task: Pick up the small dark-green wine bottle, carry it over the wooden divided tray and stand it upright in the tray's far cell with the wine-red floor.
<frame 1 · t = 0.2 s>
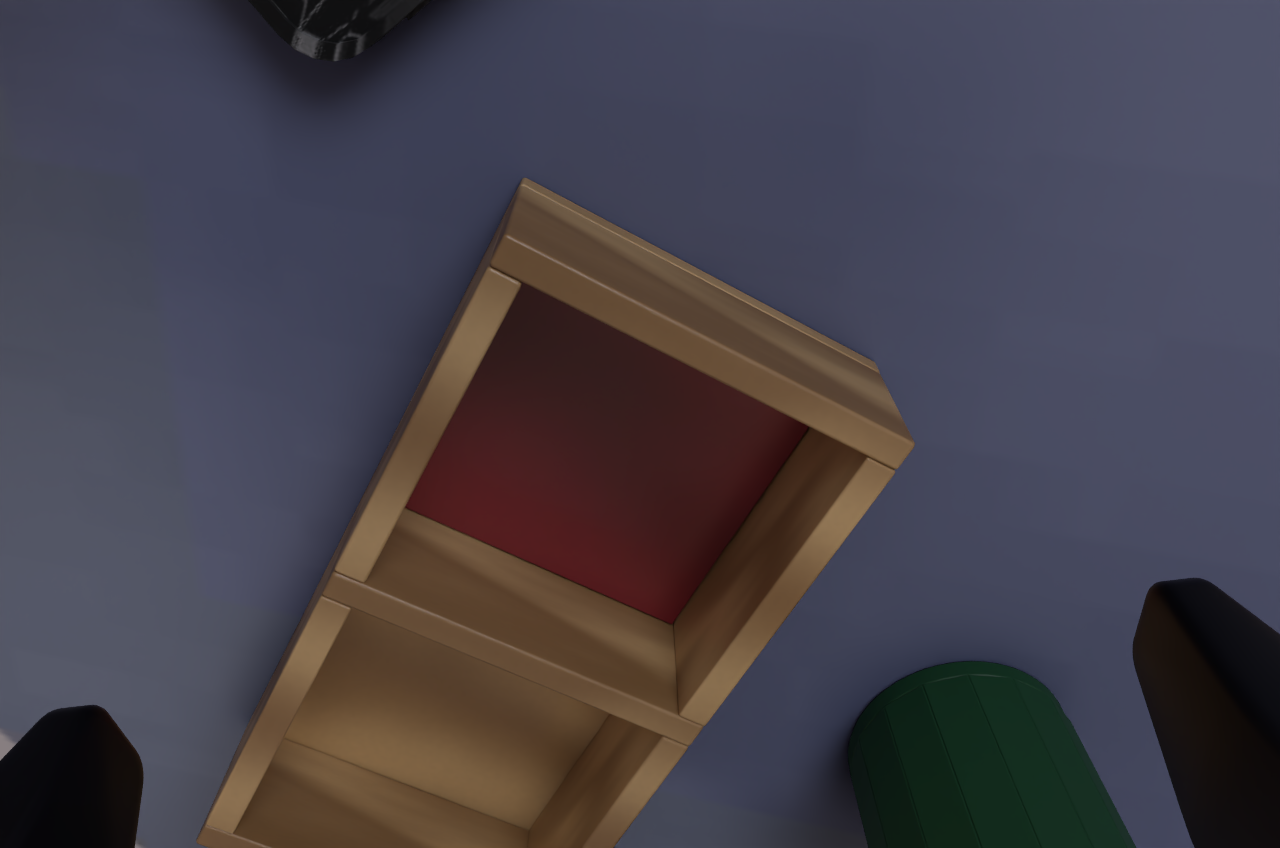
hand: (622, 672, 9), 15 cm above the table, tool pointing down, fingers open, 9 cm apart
wooden divided tray: (533, 559, 27), on the table
wine bottle: (955, 745, 30), on the table
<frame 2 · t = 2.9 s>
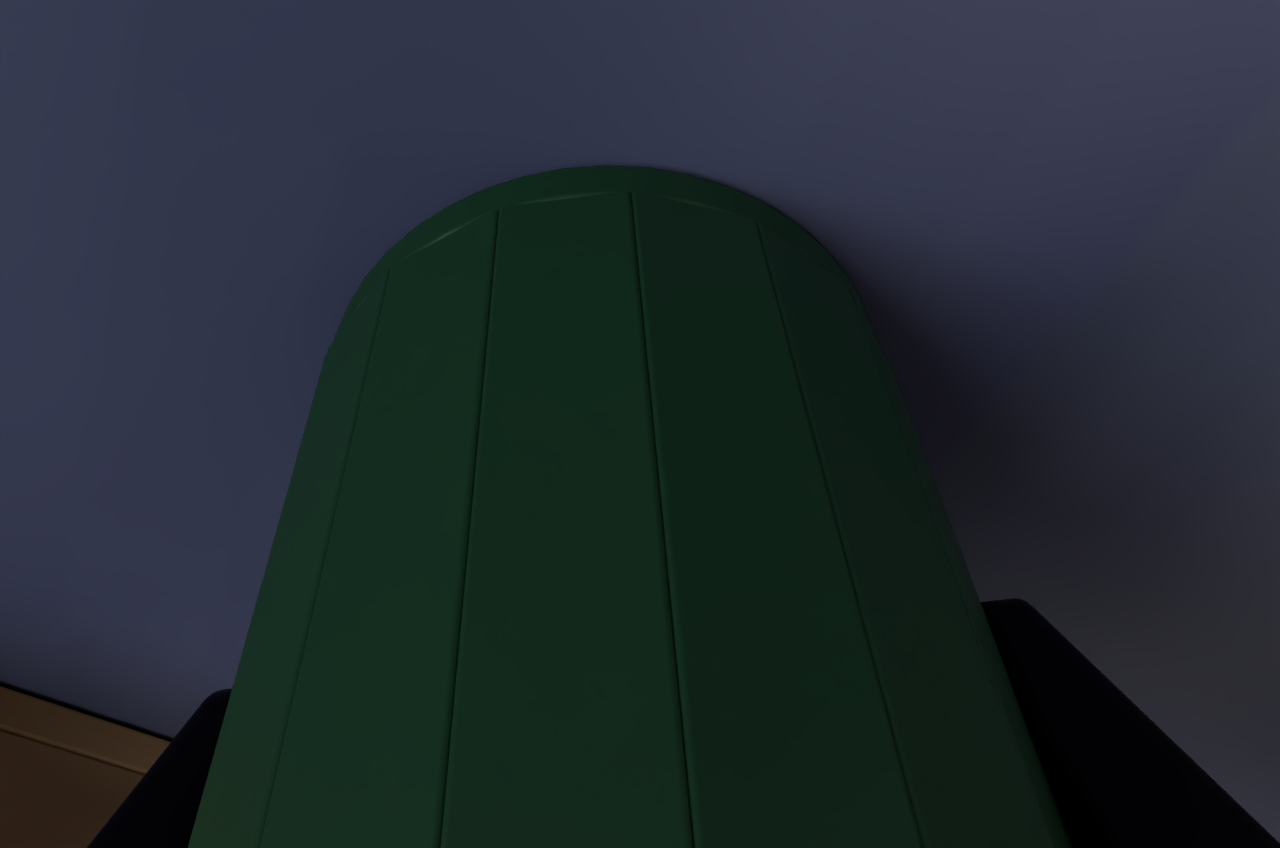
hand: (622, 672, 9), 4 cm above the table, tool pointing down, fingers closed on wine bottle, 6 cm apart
wine bottle: (607, 410, 12), on the table, touching gripper
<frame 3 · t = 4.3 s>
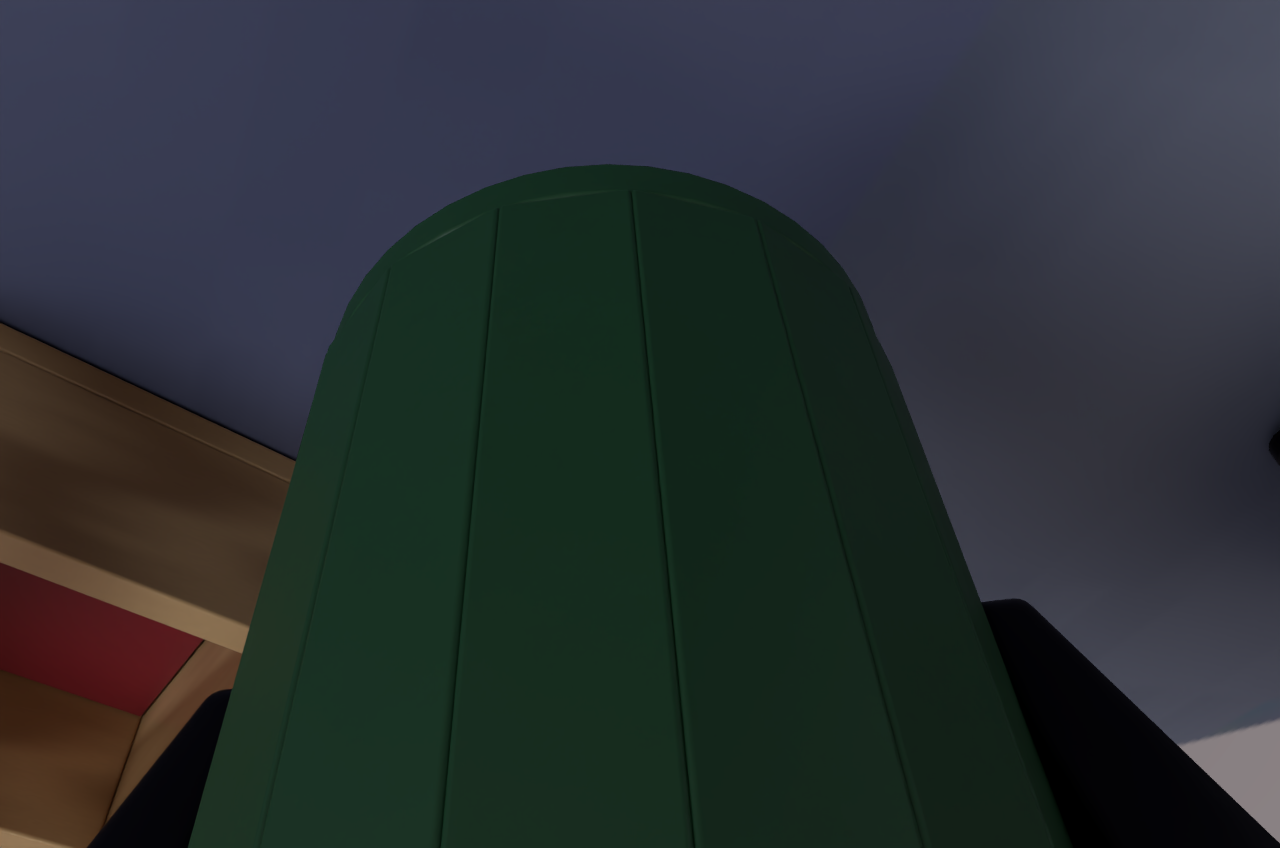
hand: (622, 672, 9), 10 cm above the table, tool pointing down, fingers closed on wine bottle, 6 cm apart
wooden divided tray: (239, 606, 23), on the table
wine bottle: (607, 409, 12), point 6 cm above the table, touching gripper
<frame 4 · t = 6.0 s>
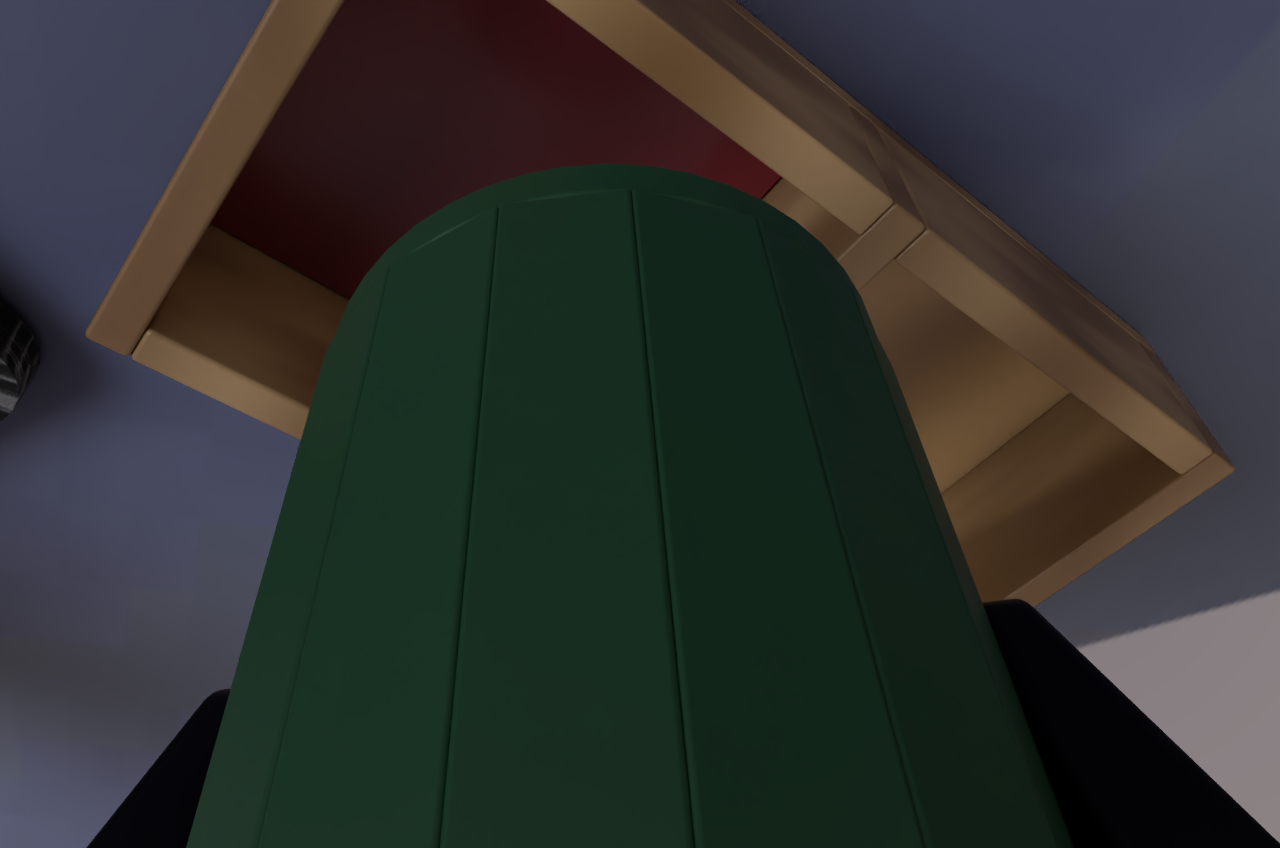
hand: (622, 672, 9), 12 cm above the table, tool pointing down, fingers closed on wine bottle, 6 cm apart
wooden divided tray: (689, 276, 21), on the table
wine bottle: (607, 409, 12), point 8 cm above the table, touching gripper
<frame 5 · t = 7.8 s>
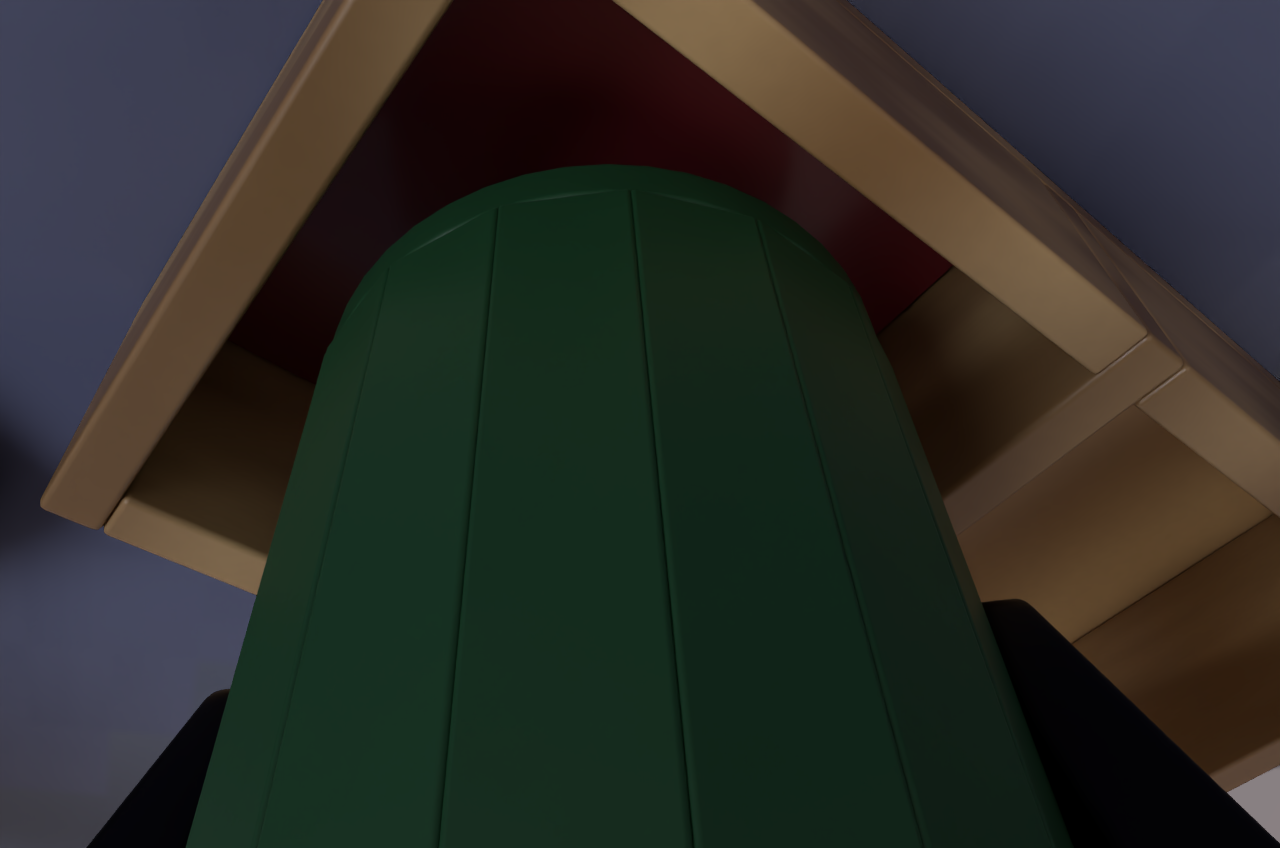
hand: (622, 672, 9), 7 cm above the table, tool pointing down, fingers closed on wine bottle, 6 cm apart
wooden divided tray: (808, 385, 17), on the table
wine bottle: (607, 409, 12), point 4 cm above the table, touching gripper
when the fingers open (4 cm above the table, at t = 9.3 s): wine bottle stays where it is, resting on wooden divided tray.
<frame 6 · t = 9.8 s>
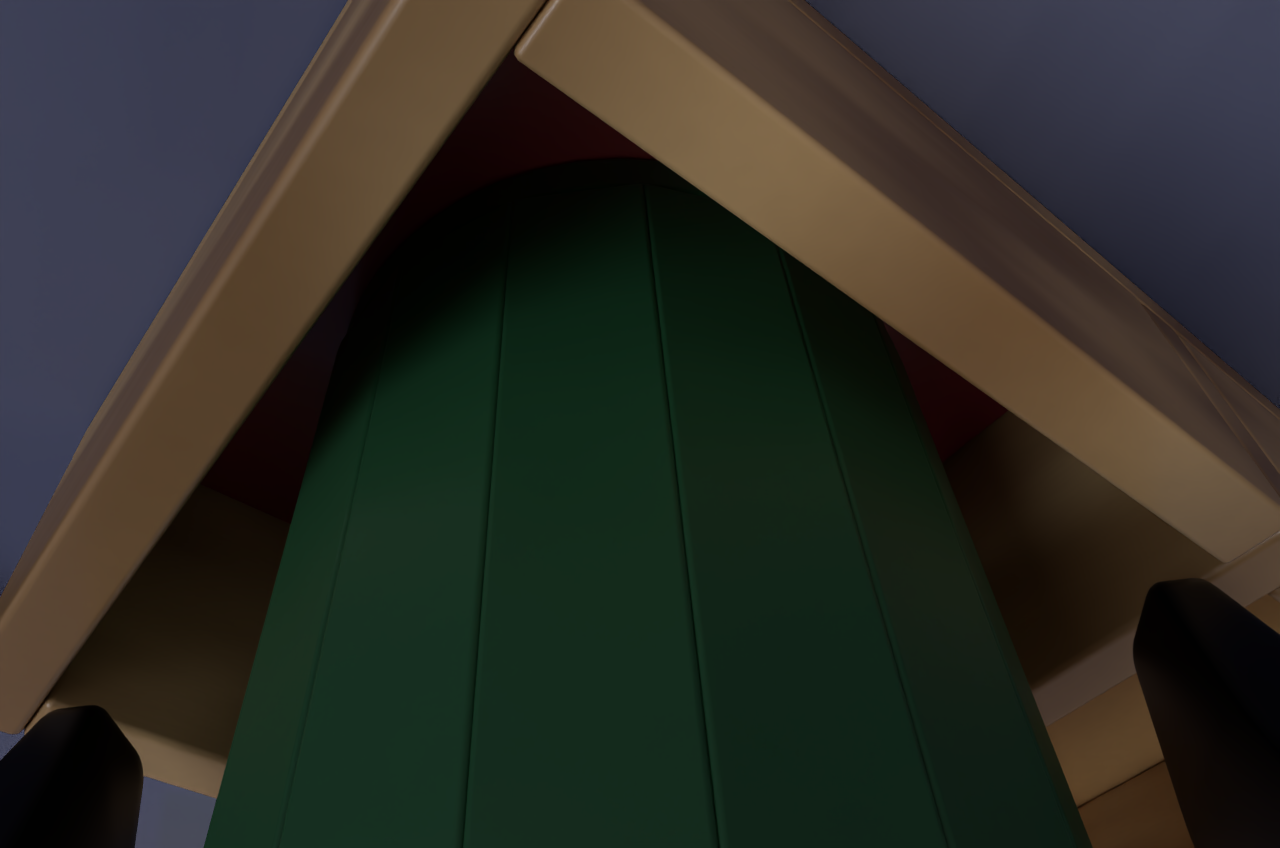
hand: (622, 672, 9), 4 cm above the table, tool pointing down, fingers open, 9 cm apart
wooden divided tray: (853, 509, 14), on the table
wine bottle: (617, 404, 12), point 1 cm above the table, touching wooden divided tray
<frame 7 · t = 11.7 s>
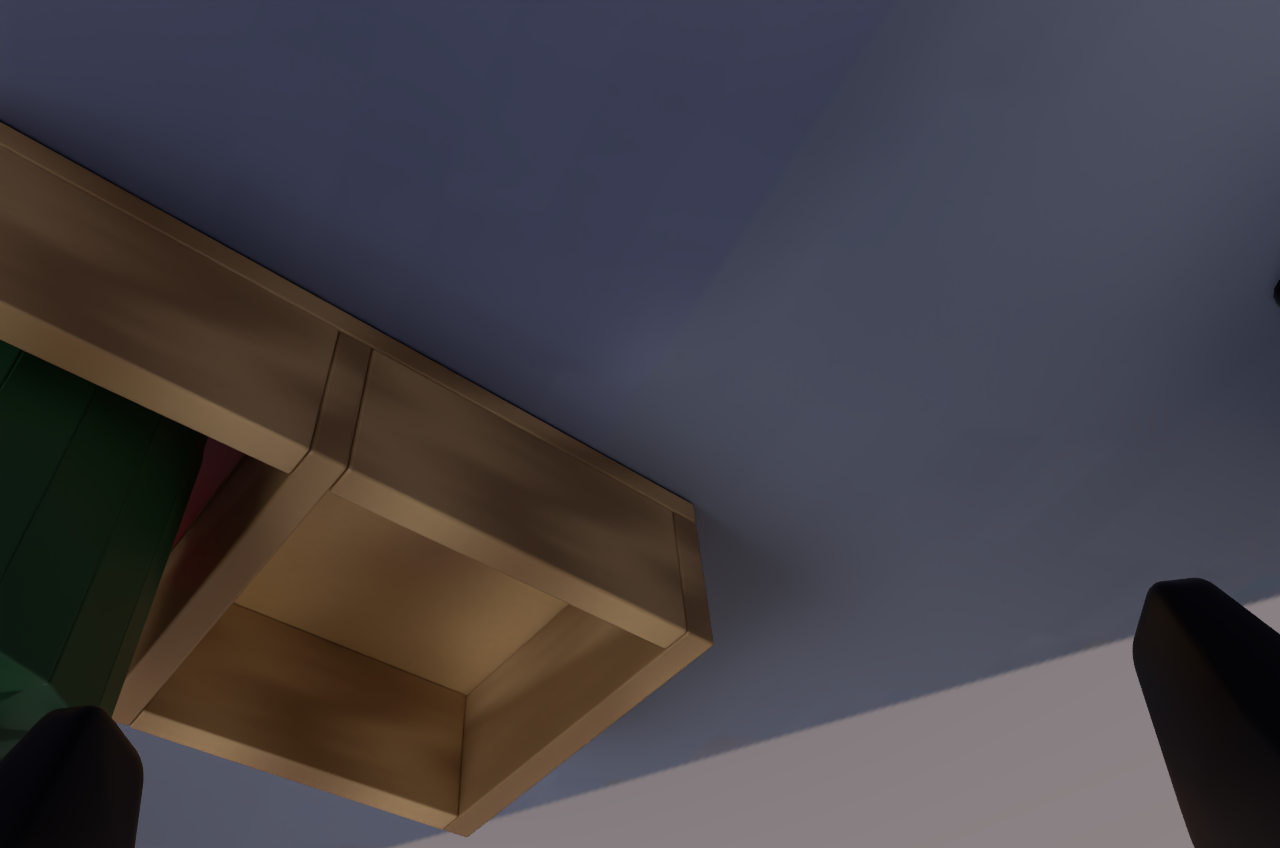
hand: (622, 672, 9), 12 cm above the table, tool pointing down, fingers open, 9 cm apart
wooden divided tray: (253, 458, 23), on the table
wine bottle: (45, 390, 20), point 1 cm above the table, touching wooden divided tray
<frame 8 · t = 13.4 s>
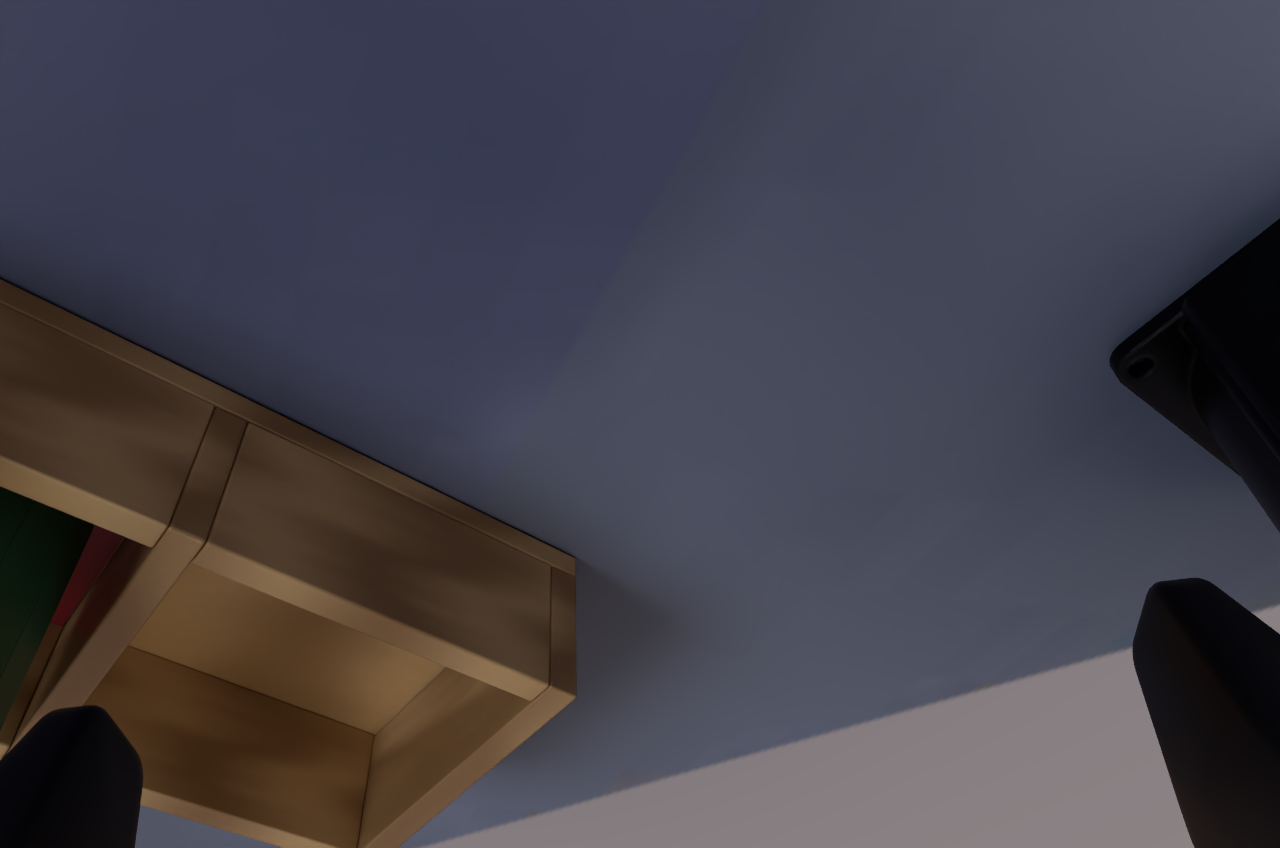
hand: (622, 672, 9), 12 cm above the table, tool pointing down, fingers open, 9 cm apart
wooden divided tray: (152, 518, 24), on the table
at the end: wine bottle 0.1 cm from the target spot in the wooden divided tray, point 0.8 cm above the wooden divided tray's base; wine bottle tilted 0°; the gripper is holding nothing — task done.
